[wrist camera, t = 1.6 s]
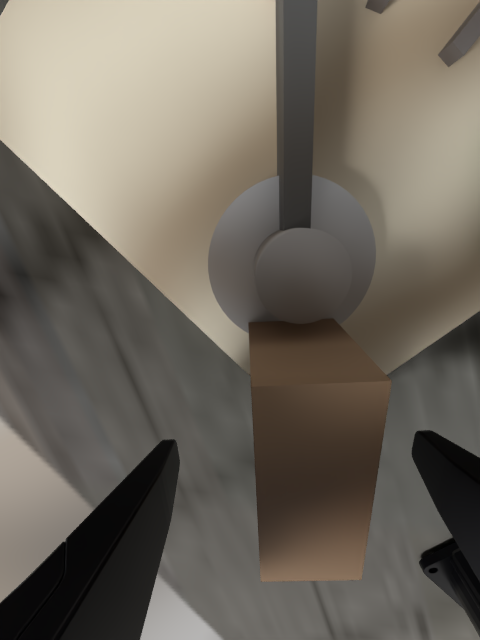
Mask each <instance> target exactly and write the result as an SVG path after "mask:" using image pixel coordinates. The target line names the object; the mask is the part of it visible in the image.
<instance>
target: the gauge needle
mask: <svg viewBox="0 0 480 640" xmlns="http://www.w3.org/2000/svg"><path fill="white" fill-rule="evenodd" d="M275 1H276V111H277V176H276V177H272V178H269V179H266V180H264V181H262V182H259V183H257V184H255V185H254V186H252V187H250V188H249V189H247V190H246V191H244V192H243V193H242V194H241V195H240V196H238V197H237V198H236V199H235V200H234V201H233V202H232V203H231V205H230V206H229V207H228V208H227V209H226V211H225V212H224V214H223V215H222V216H221V218H220V220H219V222H218V224H217V226H216V228H215V230H214V233H213V236H212V239H211V243H210V247H209V254H208V274H209V280H210V284H211V288H212V291H213V294H214V296H215V298H216V300H217V302H218V304H219V306H220V307H221V309H222V310H223V312H224V313H225V314H226V315H227V317H228V318H229V319H230V320H231V321H232V322H233V323H234V324H235V325H237V326H238V327H239V328H241V329H242V330H243V331H245V332H247V333H249V350H250V373H251V395H252V415H253V435H254V455H255V475H256V496H257V516H258V536H259V556H260V576H261V582H270V581H326V580H361V579H362V572H363V566H364V559H365V553H366V546H367V539H368V533H369V526H370V520H371V513H372V507H373V500H374V494H375V487H376V481H377V474H378V468H379V461H380V455H381V448H382V442H383V435H384V429H385V422H386V415H387V409H388V402H389V396H390V389H391V383H392V381H391V380H390V379H389V377H388V376H387V375H386V374H385V373H384V372H383V371H382V370H381V369H380V368H379V367H378V366H377V365H376V363H375V362H374V361H373V360H372V359H371V358H370V357H369V356H368V355H367V354H366V353H365V352H364V351H363V350H362V348H361V347H360V346H359V345H358V344H357V343H356V342H355V341H354V340H353V339H352V338H351V337H350V336H349V334H348V333H347V332H346V331H345V330H344V329H343V328H342V327H341V326H340V324H341V323H343V322H344V321H345V320H346V319H347V318H348V317H349V316H350V315H351V314H352V313H353V312H354V311H355V310H356V308H357V307H358V306H359V304H360V303H361V301H362V300H363V298H364V296H365V295H366V293H367V291H368V288H369V286H370V284H371V280H372V277H373V274H374V269H375V263H376V244H375V237H374V233H373V229H372V226H371V224H370V221H369V218H368V217H367V215H366V213H365V211H364V209H363V208H362V207H361V205H360V204H359V203H358V201H357V200H356V199H355V198H354V197H353V196H352V195H351V194H350V193H349V192H348V191H346V190H345V189H344V188H342V187H341V186H339V185H338V184H336V183H334V182H332V181H330V180H328V179H325V178H322V177H319V176H315V175H312V168H313V135H314V101H315V68H316V35H317V1H318V0H275Z"/></svg>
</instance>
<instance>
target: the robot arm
mask: <svg viewBox="0 0 480 640" xmlns="http://www.w3.org/2000/svg"><path fill="white" fill-rule="evenodd" d="M412 457H413V460H414V462H415V464H416V467H417V469H418V471H419V473H420V475H421V477H422V479H423V481H424V483H425V485H426V487H427V489H428V491H429V494H430V496H431V498H432V500H433V502H434V504H435V506H436V508H437V510H438V512H439V514H440V515H441V517H442V519H443V521H444V522H445V524H446V526H447V527H448V529H449V531H450V533H451V534H452V536H453V538H454V539H455V541H456V542H455V543H453V544H451V545H449V546H447V547H444V548H442V549H440V550H438V551H436V552H434V553H432V554H430V555H428V556H426V557H424V558H422V559H421V560H420V561H419V564H420V566H421V568H422V570H423V572H424V574H425V575H426V576H427V577H428V578H430V579H431V580H432V581H433V582H434V583H435V584H436V585H437V586H439V587H440V588H441V589H442V590H443V591H444V592H445V593H446V594H447V595H449V596H450V597H451V598H452V599H453V600H454V601H455V602H456V603H458V604H459V605H460V606H461V607H462V608H463V609H464V610H465V612H466V613H467V615H468V617H469V619H470V621H471V622H472V624H473V626H474V628H475V629H476V631H477V633H478V635H479V636H480V458H479V457H477V456H475V455H474V454H472V453H470V452H468V451H467V450H465V449H463V448H461V447H460V446H458V445H456V444H454V443H453V442H451V441H449V440H447V439H446V438H444V437H442V436H440V435H439V434H437V433H435V432H433V431H430V430H424V431H417V432H416V433H415V437H414V442H413V447H412ZM179 466H180V459H179V453H178V447H177V442H176V440H174V439H170V440H162V441H161V442H160V443H159V444H158V445H157V446H156V447H155V448H154V449H153V450H152V451H151V452H150V453H149V454H148V455H147V456H146V457H145V458H144V459H143V460H142V461H141V462H140V463H139V464H138V466H137V467H136V468H135V469H134V470H133V471H132V472H131V473H130V474H129V475H128V476H127V477H126V478H125V479H124V480H123V481H122V482H121V483H120V484H119V485H118V486H117V487H116V488H115V489H114V490H113V491H112V492H111V493H110V494H109V495H108V496H107V497H106V498H105V499H104V500H103V501H102V502H101V503H100V504H99V505H98V506H97V508H96V509H95V510H94V511H93V512H92V513H91V514H90V515H89V516H88V517H87V518H86V519H85V520H84V521H83V522H82V523H81V524H80V525H79V526H78V527H77V528H76V529H75V530H74V531H73V532H72V533H71V534H70V535H69V536H68V537H67V538H66V541H65V542H62V543H61V544H60V545H59V546H58V547H57V548H56V549H55V550H54V552H52V554H50V556H49V557H47V558H46V559H45V561H43V563H41V564H40V565H39V567H37V568H36V569H35V570H34V571H33V573H32V574H30V575H29V576H28V577H27V578H26V580H24V581H23V582H22V583H21V584H20V585H19V586H18V587H17V588H16V589H15V590H14V591H12V592H11V593H10V594H9V595H8V596H7V597H6V598H5V599H4V600H3V601H2V602H1V603H0V640H140V637H141V633H142V629H143V626H144V621H145V618H146V614H147V610H148V606H149V602H150V599H151V595H152V591H153V587H154V584H155V579H156V576H157V572H158V568H159V564H160V561H161V557H162V553H163V549H164V545H165V541H166V538H167V534H168V530H169V526H170V522H171V516H172V511H173V504H174V498H175V492H176V485H177V479H178V473H179Z"/></svg>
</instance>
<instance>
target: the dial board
mask: <svg viewBox="0 0 480 640" xmlns="http://www.w3.org/2000/svg"><path fill="white" fill-rule="evenodd" d="M0 140H1V141H2V142H3V143H4V144H5V145H6V146H8V147H9V148H10V149H11V150H12V151H13V152H14V153H15V154H16V155H17V156H18V157H19V158H20V159H21V160H22V161H23V162H24V163H26V164H27V165H28V166H29V167H30V168H31V169H32V170H33V171H34V172H35V173H36V174H37V175H38V176H39V177H40V178H41V179H42V180H43V181H45V182H46V183H47V184H48V185H49V186H50V187H51V188H52V189H53V190H54V191H55V192H56V193H57V194H58V195H59V196H60V197H61V198H63V199H64V200H65V201H66V202H67V203H68V204H69V205H70V206H71V207H72V208H73V209H74V210H75V211H76V212H77V213H78V214H79V215H80V216H82V217H83V218H84V219H85V220H86V221H87V222H88V223H89V224H90V225H91V226H92V227H93V228H94V229H95V230H96V231H97V232H98V233H100V234H101V235H102V236H103V237H104V238H105V239H106V240H107V241H108V242H109V243H110V244H111V245H112V246H113V247H114V248H115V249H116V250H117V251H119V252H120V253H121V254H122V255H123V256H124V257H125V258H126V259H127V260H128V261H129V262H130V263H131V264H132V265H133V266H134V267H135V268H137V269H138V270H139V271H140V272H141V273H142V274H143V275H144V276H145V277H146V278H147V279H148V280H149V281H150V282H151V283H152V284H153V285H154V286H156V287H157V288H158V289H159V290H160V291H161V292H162V293H163V294H164V295H165V296H166V297H167V298H168V299H169V300H170V301H171V302H172V303H173V304H175V305H176V306H177V307H178V308H179V309H180V310H181V311H182V312H183V313H184V314H185V315H186V316H187V317H188V318H189V319H190V320H191V321H193V322H194V323H195V324H196V325H197V326H198V327H199V328H200V329H201V330H202V331H203V332H204V333H205V334H206V335H207V336H208V337H209V338H210V339H212V340H213V341H214V342H215V343H216V344H217V345H218V346H219V347H220V348H221V349H222V350H223V351H224V352H225V353H226V354H227V355H228V356H230V357H231V358H232V359H233V360H234V361H235V362H236V363H237V364H238V365H239V366H240V367H241V368H242V369H243V370H244V371H245V372H246V373H247V374H249V375H250V376H251V373H250V350H249V333H247V332H245V331H243V330H242V329H241V328H239V327H238V326H237V325H235V324H234V323H233V322H232V321H231V320H230V319H229V318H228V317H227V315H226V314H225V313H224V312H223V310H222V309H221V307H220V306H219V304H218V302H217V300H216V298H215V296H214V294H213V291H212V288H211V284H210V280H209V274H208V254H209V247H210V243H211V239H212V236H213V233H214V230H215V228H216V226H217V224H218V222H219V220H220V218H221V216H222V215H223V214H224V212H225V211H226V209H227V208H228V207H229V206H230V205H231V203H232V202H233V201H234V200H235V199H236V198H237V197H238V196H240V195H241V194H242V193H243V192H244V191H246V190H247V189H249V188H250V187H252V186H254V185H255V184H257V183H259V182H262V181H264V180H266V179H269V178H272V177H276V176H277V111H276V1H275V0H9V2H8V3H7V5H6V7H5V9H4V10H3V12H2V14H1V16H0ZM312 175H315V176H319V177H322V178H325V179H328V180H330V181H332V182H334V183H336V184H338V185H339V186H341V187H342V188H344V189H345V190H346V191H348V192H349V193H350V194H351V195H352V196H353V197H354V198H355V199H356V200H357V201H358V203H359V204H360V205H361V207H362V208H363V209H364V211H365V213H366V215H367V217H368V218H369V221H370V224H371V226H372V229H373V233H374V237H375V244H376V263H375V269H374V274H373V277H372V280H371V284H370V286H369V288H368V291H367V293H366V295H365V296H364V298H363V300H362V301H361V303H360V304H359V306H358V307H357V308H356V310H355V311H354V312H353V313H352V314H351V315H350V316H349V317H348V318H347V319H346V320H345V321H344V322H343V323H341V324H340V326H341V327H342V328H343V329H344V330H345V331H346V332H347V333H348V334H349V336H350V337H351V338H352V339H353V340H354V341H355V342H356V343H357V344H358V345H359V346H360V347H361V348H362V350H363V351H364V352H365V353H366V354H367V355H368V356H369V357H370V358H371V359H372V360H373V361H374V362H375V363H376V365H377V366H378V367H379V368H380V369H381V370H382V371H383V372H384V373H385V374H386V375H387V374H389V373H390V372H392V371H393V370H395V369H396V368H397V367H399V366H400V365H402V364H403V363H405V362H406V361H408V360H409V359H411V358H412V357H413V356H415V355H416V354H418V353H419V352H421V351H422V350H424V349H425V348H426V347H428V346H429V345H431V344H432V343H434V342H435V341H437V340H438V339H440V338H441V337H442V336H444V335H445V334H447V333H448V332H450V331H451V330H453V329H454V328H455V327H457V326H458V325H460V324H461V323H463V322H464V321H466V320H467V319H469V318H470V317H471V316H473V315H474V314H476V313H477V312H479V311H480V0H318V1H317V35H316V68H315V101H314V135H313V168H312Z"/></svg>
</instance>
